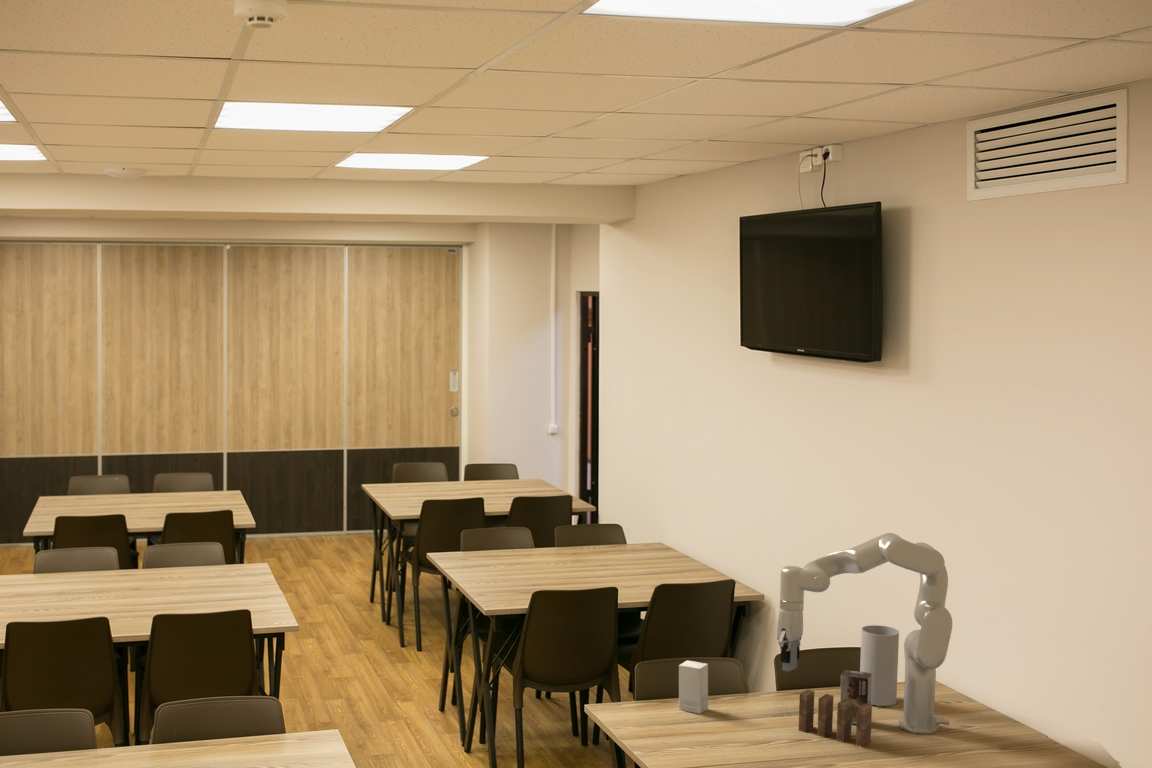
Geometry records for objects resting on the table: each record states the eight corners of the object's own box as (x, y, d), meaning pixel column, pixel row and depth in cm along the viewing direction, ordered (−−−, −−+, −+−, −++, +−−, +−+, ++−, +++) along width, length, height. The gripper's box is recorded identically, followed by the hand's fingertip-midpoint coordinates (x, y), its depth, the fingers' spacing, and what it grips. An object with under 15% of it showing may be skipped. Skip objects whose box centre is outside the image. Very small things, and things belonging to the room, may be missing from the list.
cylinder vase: (853, 695, 391) (856, 625, 390) (887, 694, 393) (890, 625, 391) (866, 707, 379) (869, 635, 377) (902, 707, 380) (904, 635, 379)
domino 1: (813, 727, 359) (814, 691, 359) (805, 732, 355) (806, 695, 354) (806, 725, 361) (807, 689, 360) (798, 730, 356) (799, 693, 356)
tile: (796, 667, 362) (798, 631, 361) (788, 671, 358) (790, 634, 357) (790, 666, 364) (791, 629, 363) (782, 670, 359) (783, 633, 358)
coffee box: (870, 721, 366) (872, 672, 365) (867, 727, 360) (868, 678, 359) (842, 716, 370) (844, 668, 369) (838, 722, 364) (840, 674, 363)
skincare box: (708, 709, 374) (709, 663, 373) (699, 715, 369) (701, 668, 368) (686, 704, 379) (687, 659, 378) (677, 709, 373) (678, 664, 372)
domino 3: (851, 737, 351) (852, 700, 351) (843, 742, 347) (844, 704, 346) (844, 735, 353) (845, 698, 352) (836, 740, 348) (837, 703, 348)
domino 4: (870, 742, 347) (872, 704, 347) (863, 747, 343) (864, 709, 342) (863, 740, 349) (864, 703, 348) (855, 745, 344) (857, 707, 344)
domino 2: (832, 732, 355) (833, 695, 355) (824, 737, 351) (825, 700, 350) (825, 730, 357) (826, 693, 356) (817, 735, 352) (818, 698, 352)
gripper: (793, 598, 368) (791, 651, 370) (768, 608, 355) (766, 664, 356) (814, 602, 364) (812, 656, 365) (789, 612, 350) (788, 668, 351)
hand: (790, 659), depth 360 cm, fingers closed on tile, 5 cm apart
